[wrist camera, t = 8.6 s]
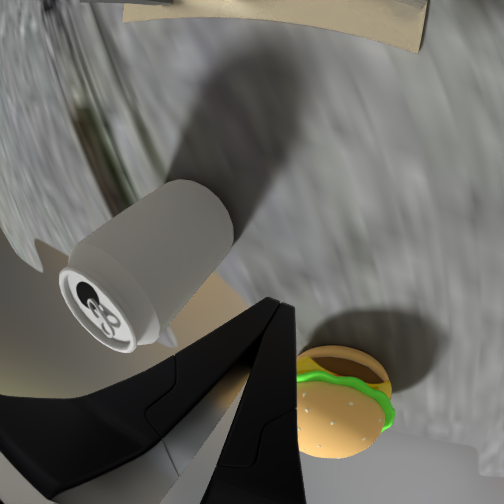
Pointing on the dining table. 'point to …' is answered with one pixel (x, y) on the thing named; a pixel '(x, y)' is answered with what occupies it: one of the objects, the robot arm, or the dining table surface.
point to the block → (134, 1)
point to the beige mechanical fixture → (307, 15)
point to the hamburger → (341, 401)
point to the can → (146, 264)
